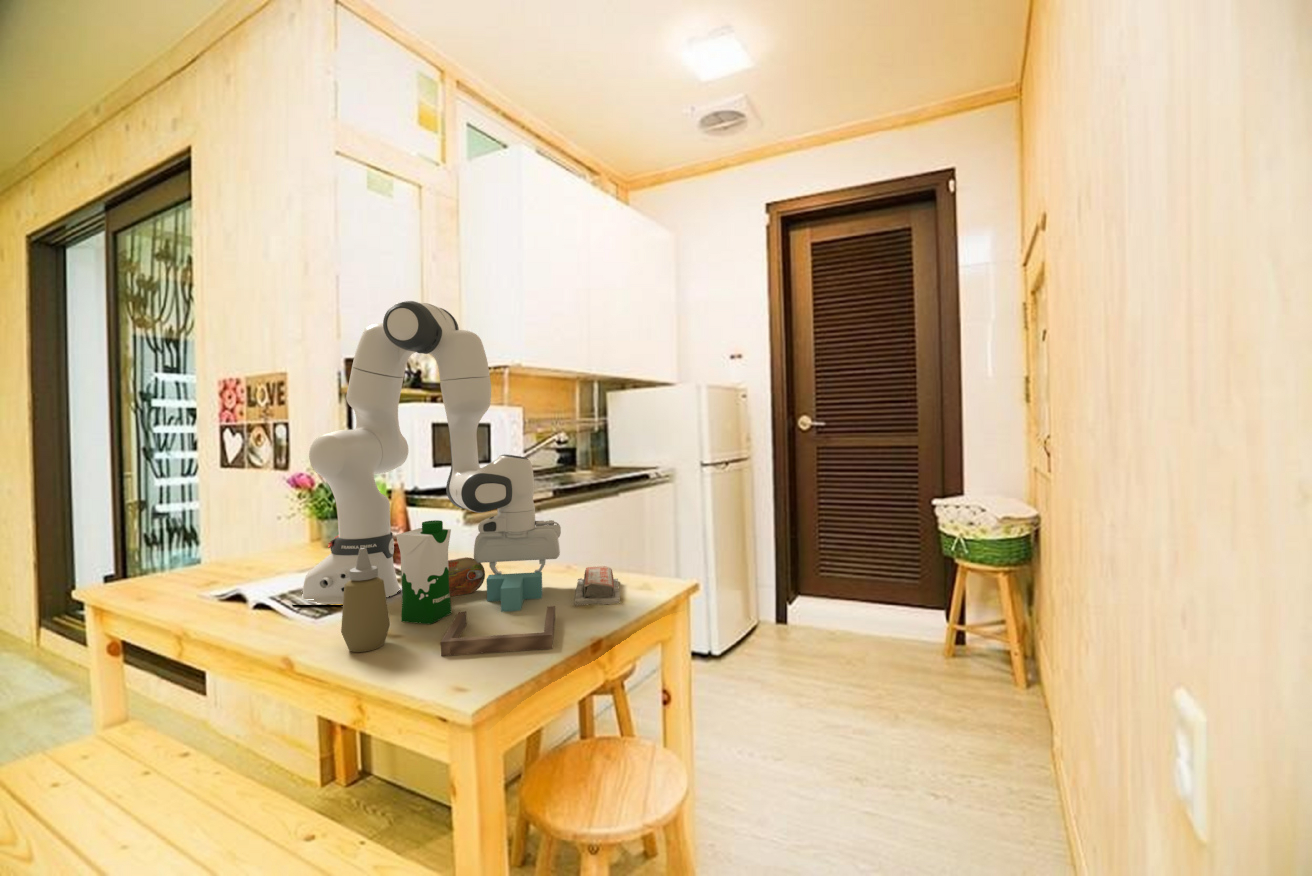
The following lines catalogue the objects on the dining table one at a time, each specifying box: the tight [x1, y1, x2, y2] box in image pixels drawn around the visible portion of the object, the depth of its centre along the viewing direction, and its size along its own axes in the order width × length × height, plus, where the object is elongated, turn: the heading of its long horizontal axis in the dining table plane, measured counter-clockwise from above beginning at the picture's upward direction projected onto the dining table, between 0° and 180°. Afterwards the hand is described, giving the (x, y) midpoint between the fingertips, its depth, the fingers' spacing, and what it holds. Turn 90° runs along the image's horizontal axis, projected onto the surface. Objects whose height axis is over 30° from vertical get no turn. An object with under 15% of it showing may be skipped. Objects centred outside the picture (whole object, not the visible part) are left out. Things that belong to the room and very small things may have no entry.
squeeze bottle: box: [340, 548, 391, 653], centre depth 111 cm, size 8×8×18 cm
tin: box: [448, 556, 486, 598], centre depth 143 cm, size 15×3×8 cm, turn 119°
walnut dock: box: [440, 605, 556, 657], centre depth 116 cm, size 19×16×2 cm
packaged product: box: [574, 565, 621, 606], centre depth 142 cm, size 18×5×10 cm
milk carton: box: [395, 519, 452, 625], centre depth 127 cm, size 9×9×20 cm
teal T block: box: [486, 571, 543, 613], centre depth 136 cm, size 12×12×5 cm
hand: (518, 578), depth 148 cm, fingers open, 8 cm apart
